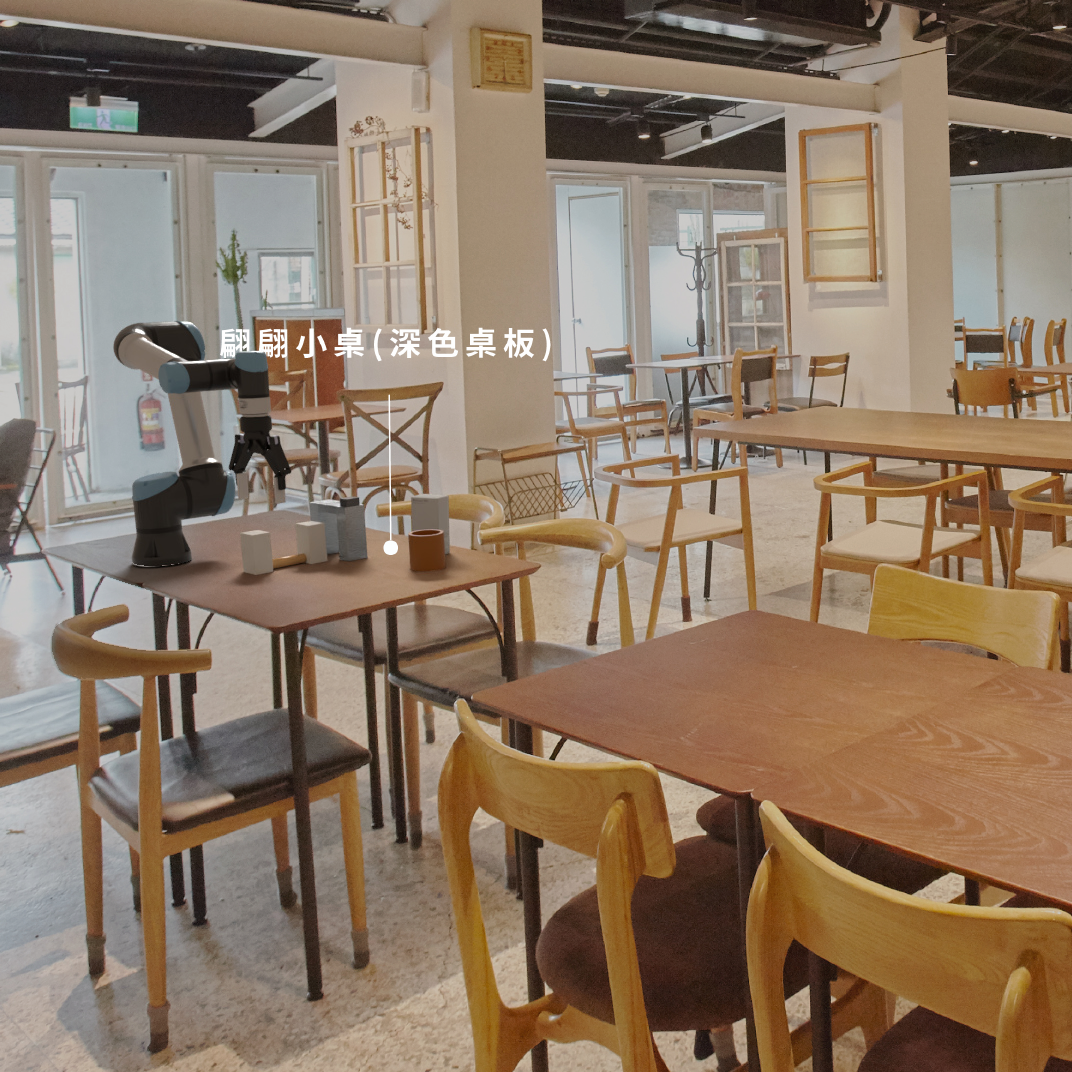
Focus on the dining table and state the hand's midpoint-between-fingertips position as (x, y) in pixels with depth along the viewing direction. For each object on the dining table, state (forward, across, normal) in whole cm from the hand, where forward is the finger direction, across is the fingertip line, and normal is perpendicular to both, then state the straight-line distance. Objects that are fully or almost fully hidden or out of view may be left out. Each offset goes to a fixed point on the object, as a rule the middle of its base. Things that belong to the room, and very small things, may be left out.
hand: (261, 501), depth 300 cm
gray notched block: (+18, +2, +24) cm, 30 cm away
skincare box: (+18, +23, +36) cm, 46 cm away
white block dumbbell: (+18, -1, +7) cm, 20 cm away
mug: (+18, +33, +24) cm, 45 cm away
